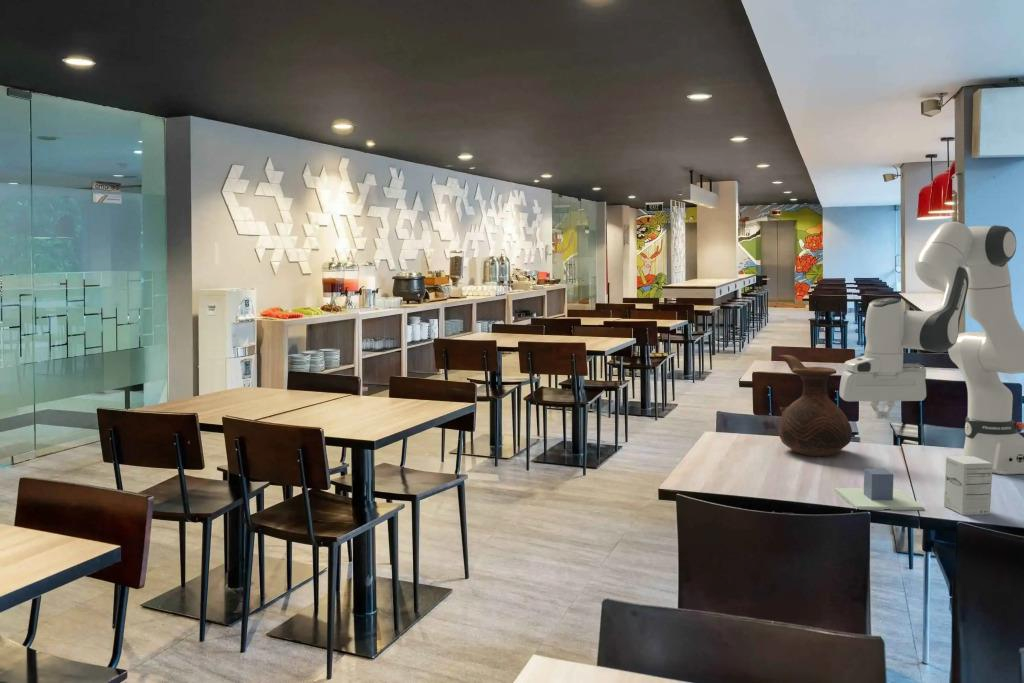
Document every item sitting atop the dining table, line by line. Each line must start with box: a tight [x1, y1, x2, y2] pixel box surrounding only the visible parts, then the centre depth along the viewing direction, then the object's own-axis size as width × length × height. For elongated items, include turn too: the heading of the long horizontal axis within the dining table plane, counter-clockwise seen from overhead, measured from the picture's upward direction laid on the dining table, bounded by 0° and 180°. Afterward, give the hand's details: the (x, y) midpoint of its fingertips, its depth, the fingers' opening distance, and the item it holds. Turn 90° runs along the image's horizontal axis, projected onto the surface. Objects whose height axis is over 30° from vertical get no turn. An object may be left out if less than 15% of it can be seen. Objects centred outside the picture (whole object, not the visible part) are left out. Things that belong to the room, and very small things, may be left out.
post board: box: [834, 487, 925, 511], centre depth 205 cm, size 16×16×6 cm
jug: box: [777, 354, 853, 457], centre depth 256 cm, size 22×22×30 cm
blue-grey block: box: [863, 468, 895, 500], centre depth 205 cm, size 5×5×7 cm
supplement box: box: [943, 455, 993, 516], centre depth 196 cm, size 7×7×13 cm
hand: (881, 418), depth 204 cm, fingers closed
